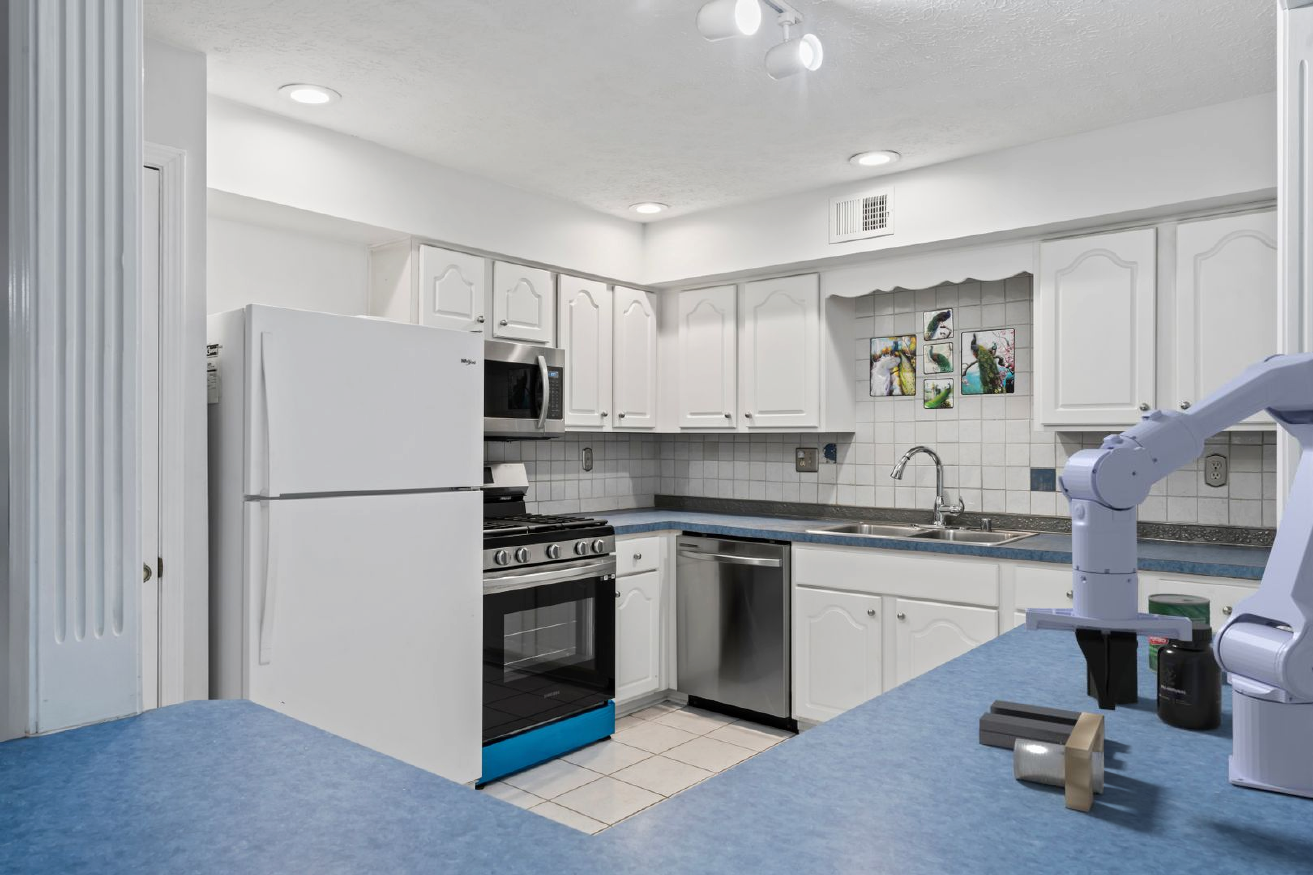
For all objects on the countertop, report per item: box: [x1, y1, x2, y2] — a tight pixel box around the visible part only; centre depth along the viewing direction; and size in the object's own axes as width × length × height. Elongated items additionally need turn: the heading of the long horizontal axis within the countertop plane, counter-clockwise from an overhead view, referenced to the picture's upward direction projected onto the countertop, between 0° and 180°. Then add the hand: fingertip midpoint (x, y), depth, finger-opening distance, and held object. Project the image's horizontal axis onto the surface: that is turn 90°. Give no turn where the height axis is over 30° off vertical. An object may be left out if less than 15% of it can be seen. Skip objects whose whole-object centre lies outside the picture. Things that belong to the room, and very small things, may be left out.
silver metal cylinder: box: [1012, 738, 1105, 795], centre depth 88 cm, size 8×4×4 cm, turn 59°
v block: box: [978, 699, 1106, 750], centre depth 100 cm, size 12×9×3 cm
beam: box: [1064, 711, 1105, 813], centre depth 87 cm, size 2×12×6 cm, turn 147°
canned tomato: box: [1147, 593, 1211, 675], centre depth 128 cm, size 8×8×11 cm
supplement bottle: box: [1156, 622, 1223, 732], centre depth 106 cm, size 7×7×12 cm
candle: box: [1086, 626, 1139, 705], centre depth 116 cm, size 5×5×25 cm
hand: (1106, 706), depth 86 cm, fingers closed
